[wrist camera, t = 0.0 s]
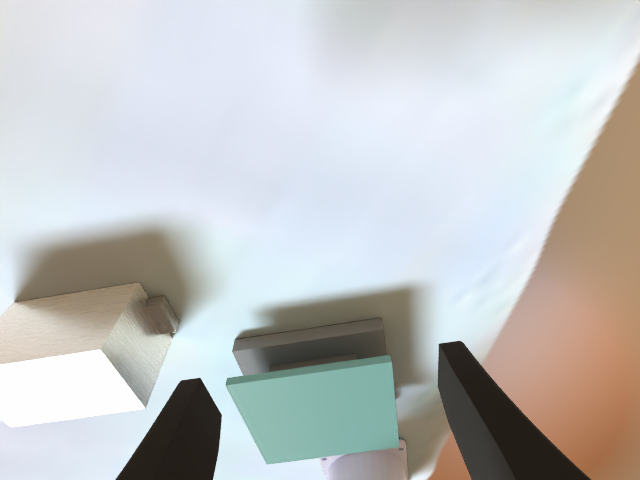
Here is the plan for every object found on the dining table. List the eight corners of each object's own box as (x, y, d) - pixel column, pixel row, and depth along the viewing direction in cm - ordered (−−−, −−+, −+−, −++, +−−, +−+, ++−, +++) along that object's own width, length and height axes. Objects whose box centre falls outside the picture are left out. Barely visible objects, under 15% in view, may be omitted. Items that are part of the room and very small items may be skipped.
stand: (389, 403, 29) (399, 447, 26) (270, 419, 30) (267, 464, 27) (380, 317, 24) (392, 361, 21) (234, 339, 24) (225, 385, 22)
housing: (186, 336, 24) (162, 405, 20) (46, 357, 25) (-6, 429, 20) (155, 279, 21) (120, 347, 17) (-2, 304, 22) (-73, 376, 18)
